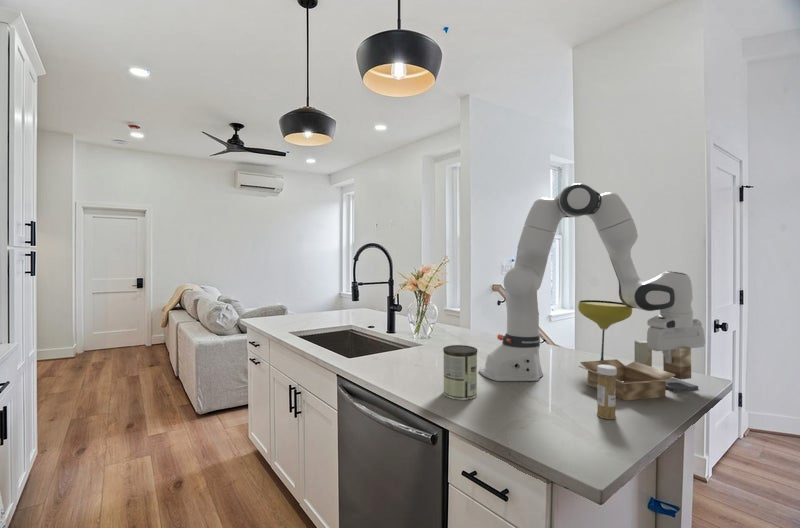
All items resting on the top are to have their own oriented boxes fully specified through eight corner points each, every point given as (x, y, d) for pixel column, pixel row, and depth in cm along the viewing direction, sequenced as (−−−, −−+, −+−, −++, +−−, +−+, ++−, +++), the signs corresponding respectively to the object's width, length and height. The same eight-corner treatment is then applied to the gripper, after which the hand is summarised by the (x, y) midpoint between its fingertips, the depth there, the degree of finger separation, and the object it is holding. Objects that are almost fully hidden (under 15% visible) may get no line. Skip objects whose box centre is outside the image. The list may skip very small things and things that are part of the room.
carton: (624, 406, 112) (625, 383, 112) (570, 381, 134) (570, 362, 134) (687, 399, 118) (687, 377, 118) (625, 376, 140) (625, 358, 140)
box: (652, 373, 144) (652, 343, 144) (639, 372, 145) (639, 342, 145) (646, 369, 150) (646, 340, 149) (633, 368, 151) (634, 339, 150)
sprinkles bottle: (617, 421, 102) (618, 369, 102) (598, 418, 103) (598, 367, 103) (613, 414, 106) (614, 364, 106) (595, 412, 108) (595, 363, 107)
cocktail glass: (616, 379, 137) (619, 307, 136) (566, 366, 151) (569, 301, 150) (637, 370, 148) (640, 304, 148) (589, 359, 163) (592, 299, 162)
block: (680, 379, 126) (679, 348, 126) (663, 374, 132) (663, 344, 132) (691, 378, 128) (690, 347, 127) (674, 373, 133) (673, 343, 133)
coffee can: (446, 387, 127) (447, 343, 127) (479, 391, 124) (479, 346, 124) (439, 397, 118) (439, 350, 117) (474, 402, 114) (474, 353, 114)
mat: (673, 391, 125) (673, 388, 125) (646, 381, 134) (646, 379, 134) (698, 389, 127) (698, 386, 127) (669, 379, 137) (669, 376, 137)
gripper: (691, 317, 135) (692, 357, 135) (643, 320, 130) (643, 362, 131) (710, 320, 129) (710, 362, 129) (659, 323, 124) (660, 367, 124)
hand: (676, 362), depth 130 cm, fingers closed on block, 4 cm apart
